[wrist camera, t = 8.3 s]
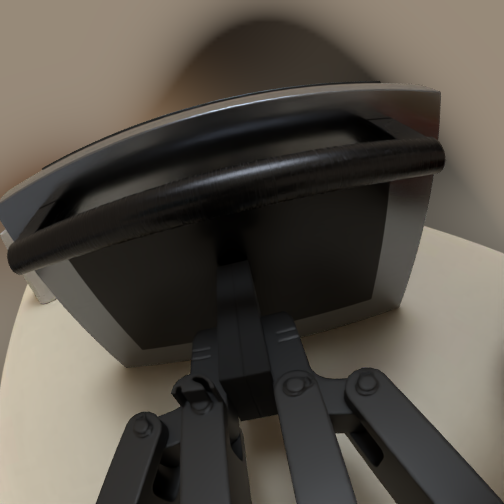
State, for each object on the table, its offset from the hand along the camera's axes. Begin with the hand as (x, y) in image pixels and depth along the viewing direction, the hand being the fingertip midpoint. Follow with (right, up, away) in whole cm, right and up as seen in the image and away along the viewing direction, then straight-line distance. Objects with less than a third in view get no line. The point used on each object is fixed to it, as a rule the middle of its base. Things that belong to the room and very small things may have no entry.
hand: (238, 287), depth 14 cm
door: (+1, -6, +5) cm, 8 cm away
